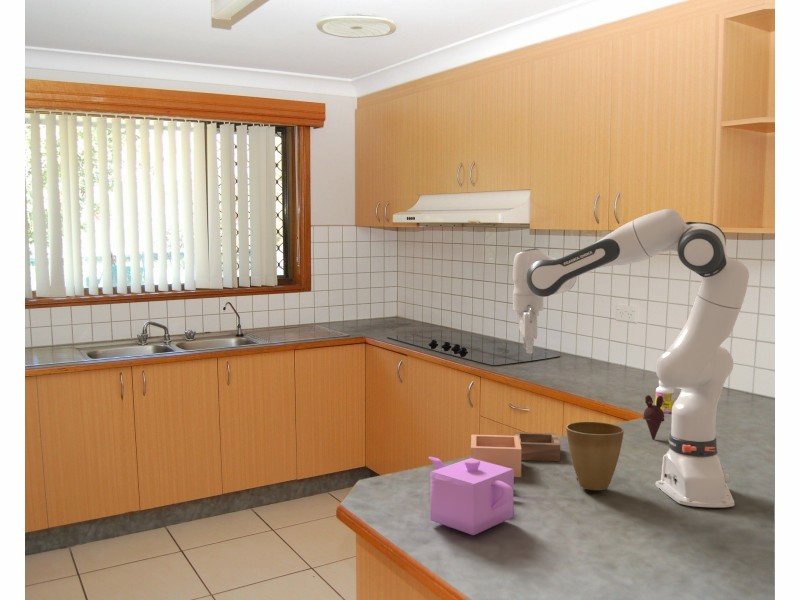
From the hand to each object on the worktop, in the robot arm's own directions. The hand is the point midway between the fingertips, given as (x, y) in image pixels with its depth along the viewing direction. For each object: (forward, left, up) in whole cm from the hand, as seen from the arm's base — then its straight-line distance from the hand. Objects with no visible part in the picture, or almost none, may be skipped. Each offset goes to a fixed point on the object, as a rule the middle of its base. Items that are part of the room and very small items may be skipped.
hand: (528, 351), depth 210 cm
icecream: (+30, -43, -34) cm, 62 cm away
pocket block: (+9, -3, -33) cm, 35 cm away
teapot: (-45, +17, -34) cm, 59 cm away
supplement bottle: (+68, -56, -34) cm, 94 cm away
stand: (-7, +10, -33) cm, 36 cm away
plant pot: (-19, -16, -34) cm, 42 cm away
